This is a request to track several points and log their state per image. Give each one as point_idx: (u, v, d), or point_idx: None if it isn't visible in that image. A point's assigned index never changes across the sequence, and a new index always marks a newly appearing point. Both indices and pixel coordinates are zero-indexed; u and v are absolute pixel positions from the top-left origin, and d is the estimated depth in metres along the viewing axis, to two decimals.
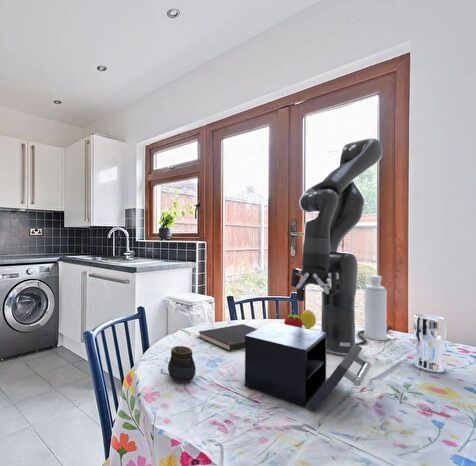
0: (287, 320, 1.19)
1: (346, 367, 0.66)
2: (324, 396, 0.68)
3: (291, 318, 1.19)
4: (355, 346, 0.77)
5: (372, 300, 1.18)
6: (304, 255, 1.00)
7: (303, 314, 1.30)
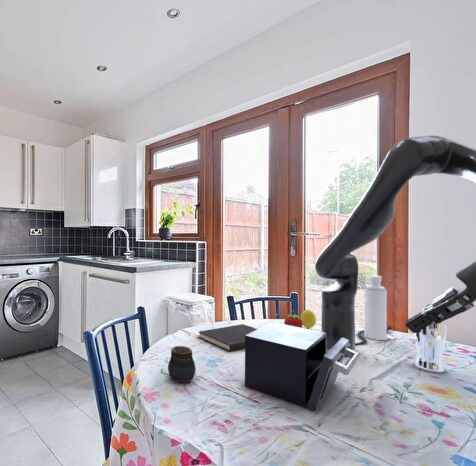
0: (287, 320, 1.19)
1: (331, 358, 0.68)
2: (319, 392, 0.69)
3: (291, 318, 1.19)
4: (341, 339, 0.79)
5: (372, 300, 1.18)
6: None
7: (303, 314, 1.30)
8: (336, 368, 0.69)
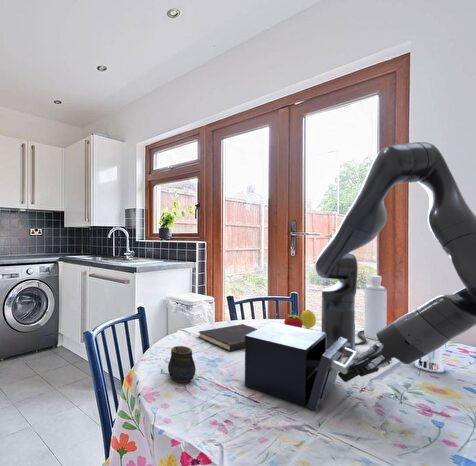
0: (287, 320, 1.19)
1: (329, 357, 0.68)
2: (318, 392, 0.69)
3: (291, 318, 1.19)
4: (340, 339, 0.79)
5: (372, 300, 1.18)
6: (422, 356, 0.63)
7: (303, 314, 1.30)
8: (335, 367, 0.69)
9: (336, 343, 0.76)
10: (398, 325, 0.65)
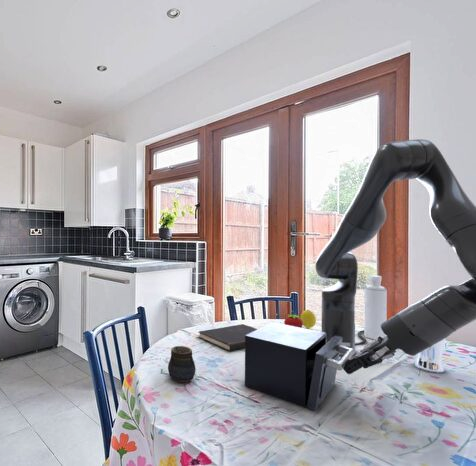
0: (287, 320, 1.19)
1: (323, 354, 0.69)
2: (316, 390, 0.69)
3: (291, 318, 1.19)
4: (334, 337, 0.80)
5: (372, 300, 1.18)
6: (426, 347, 0.62)
7: (303, 314, 1.30)
8: (330, 364, 0.69)
9: (331, 341, 0.77)
10: (403, 316, 0.64)
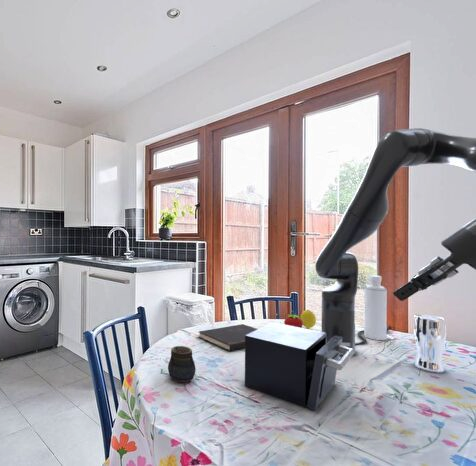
0: (287, 320, 1.19)
1: (323, 354, 0.69)
2: (316, 390, 0.69)
3: (291, 318, 1.19)
4: (334, 337, 0.80)
5: (372, 300, 1.18)
6: None
7: (303, 314, 1.30)
8: (330, 364, 0.69)
9: (330, 341, 0.77)
10: (470, 227, 0.58)
